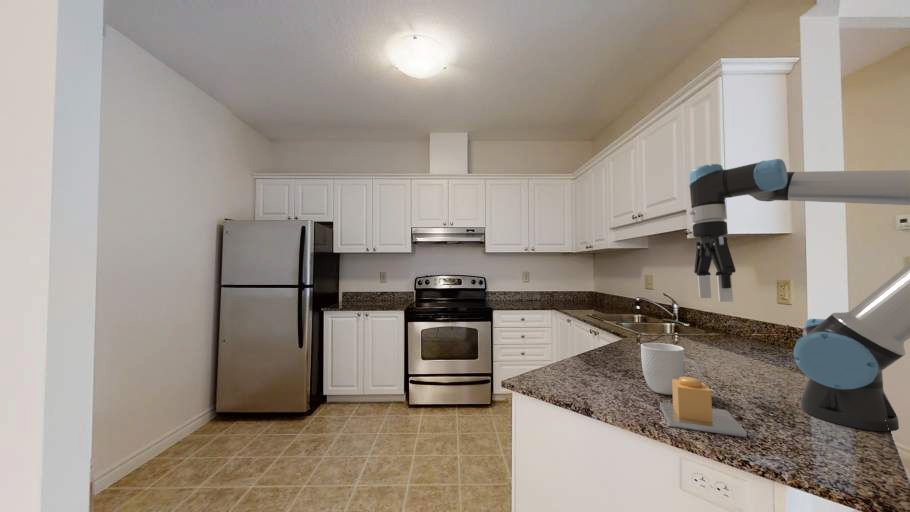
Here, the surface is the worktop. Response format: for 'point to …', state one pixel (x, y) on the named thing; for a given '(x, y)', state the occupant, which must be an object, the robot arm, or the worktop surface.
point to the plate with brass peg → (705, 422)
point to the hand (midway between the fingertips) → (714, 299)
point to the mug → (664, 366)
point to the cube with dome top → (692, 399)
